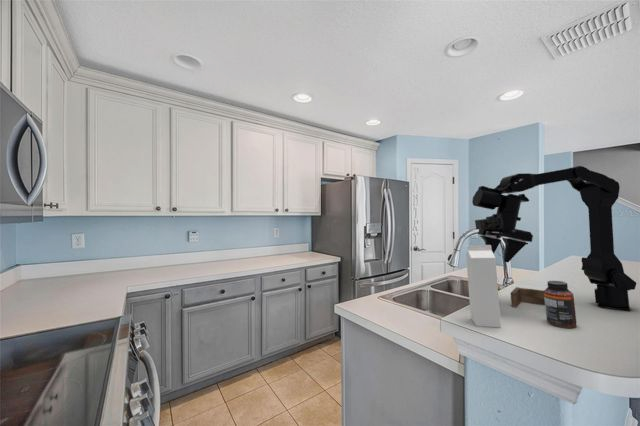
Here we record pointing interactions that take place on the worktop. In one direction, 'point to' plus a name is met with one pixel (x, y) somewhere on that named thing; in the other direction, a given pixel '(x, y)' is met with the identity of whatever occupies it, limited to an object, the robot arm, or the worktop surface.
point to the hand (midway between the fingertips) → (497, 259)
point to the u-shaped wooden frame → (527, 296)
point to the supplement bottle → (559, 305)
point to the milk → (483, 286)
